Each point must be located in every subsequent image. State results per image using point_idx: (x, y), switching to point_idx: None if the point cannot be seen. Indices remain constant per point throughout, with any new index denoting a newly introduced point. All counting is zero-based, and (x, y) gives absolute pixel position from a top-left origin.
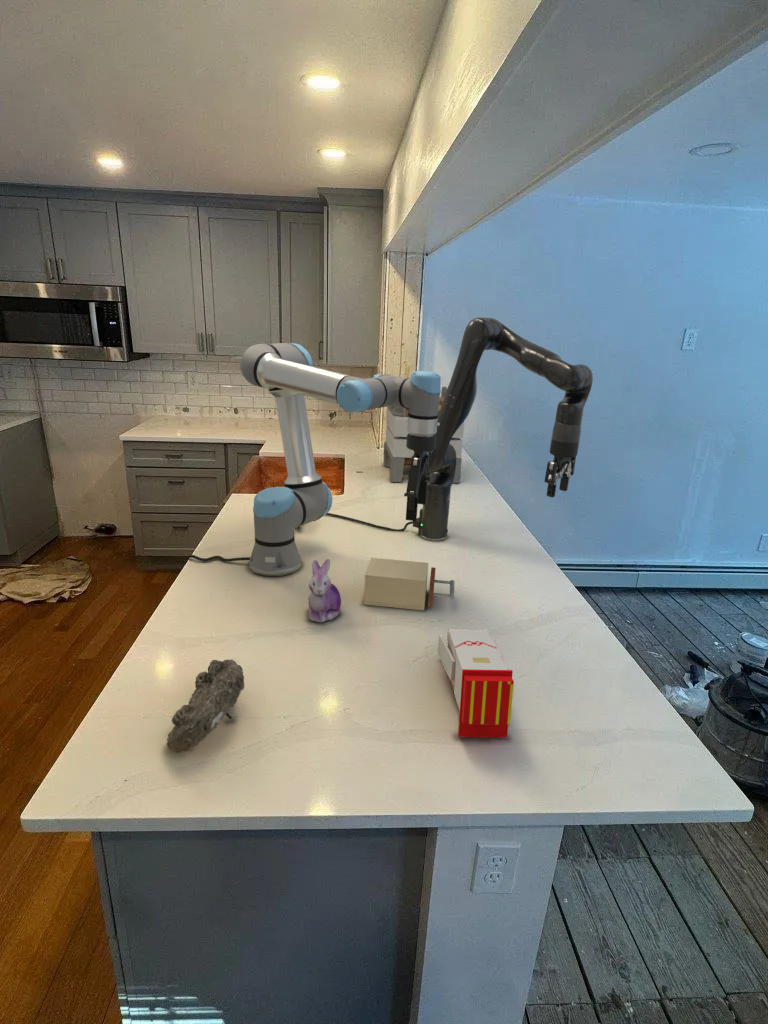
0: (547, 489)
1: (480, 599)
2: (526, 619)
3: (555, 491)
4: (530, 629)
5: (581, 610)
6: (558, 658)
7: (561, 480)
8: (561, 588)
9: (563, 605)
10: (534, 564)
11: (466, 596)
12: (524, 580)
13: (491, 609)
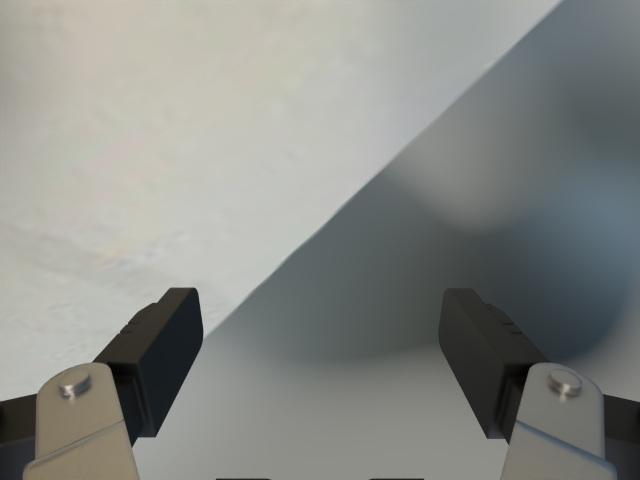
0: (145, 318)
1: (51, 112)
2: (79, 247)
3: (185, 377)
4: (52, 271)
5: (219, 313)
6: (19, 347)
7: (484, 350)
8: (286, 240)
9: (208, 278)
10: (379, 113)
11: (27, 70)
12: (252, 146)
13: (38, 164)
